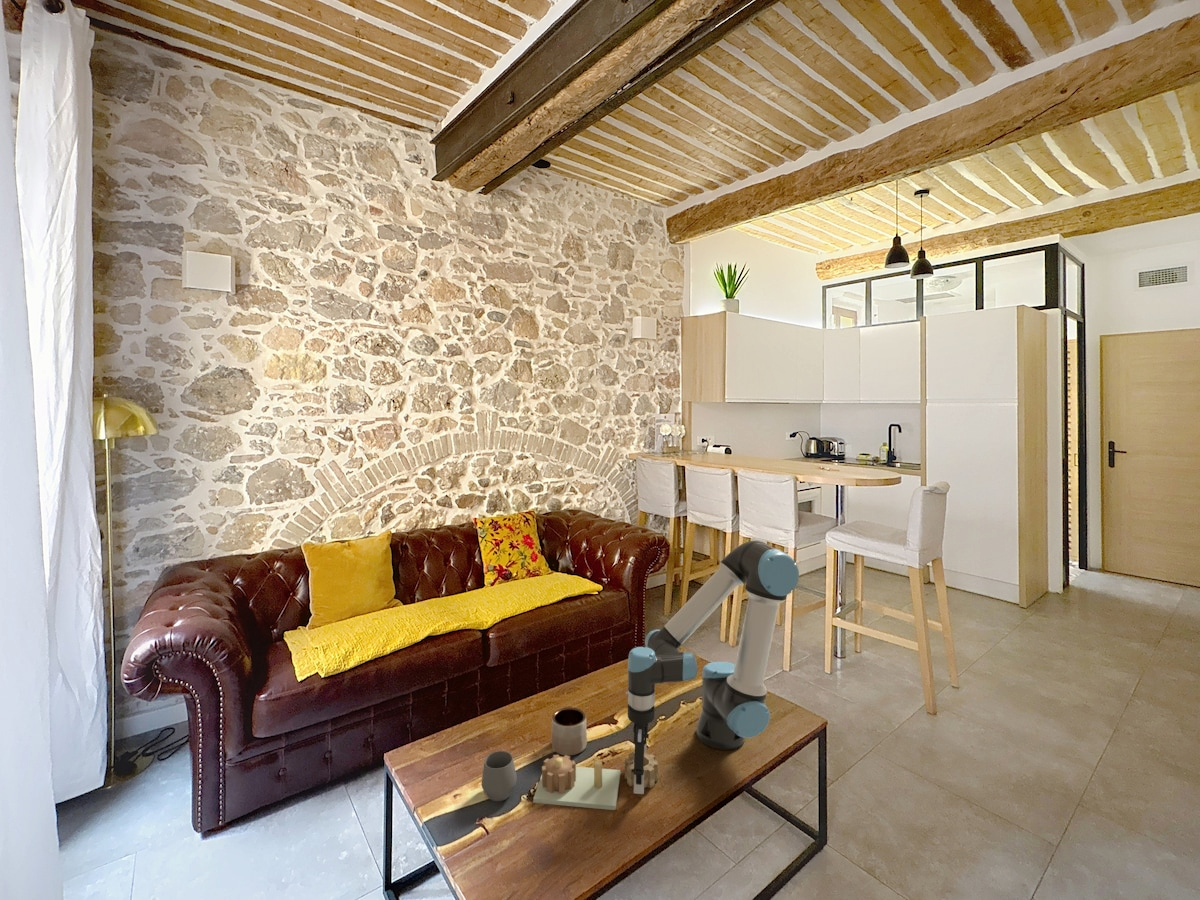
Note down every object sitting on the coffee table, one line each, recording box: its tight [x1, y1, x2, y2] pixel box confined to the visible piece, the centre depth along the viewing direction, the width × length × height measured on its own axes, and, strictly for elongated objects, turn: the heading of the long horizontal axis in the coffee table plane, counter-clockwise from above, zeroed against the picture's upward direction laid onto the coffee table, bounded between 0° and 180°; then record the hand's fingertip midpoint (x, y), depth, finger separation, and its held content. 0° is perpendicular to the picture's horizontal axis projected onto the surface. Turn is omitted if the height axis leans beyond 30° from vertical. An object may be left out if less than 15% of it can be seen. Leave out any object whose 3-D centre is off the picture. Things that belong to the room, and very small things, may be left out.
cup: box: [481, 750, 517, 802], centre depth 148 cm, size 10×9×10 cm
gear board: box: [532, 753, 622, 811], centre depth 150 cm, size 22×14×8 cm, turn 82°
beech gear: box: [624, 751, 659, 789], centre depth 154 cm, size 9×9×5 cm
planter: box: [551, 706, 588, 757], centre depth 169 cm, size 11×11×10 cm
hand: (640, 776), depth 154 cm, fingers open, 13 cm apart
